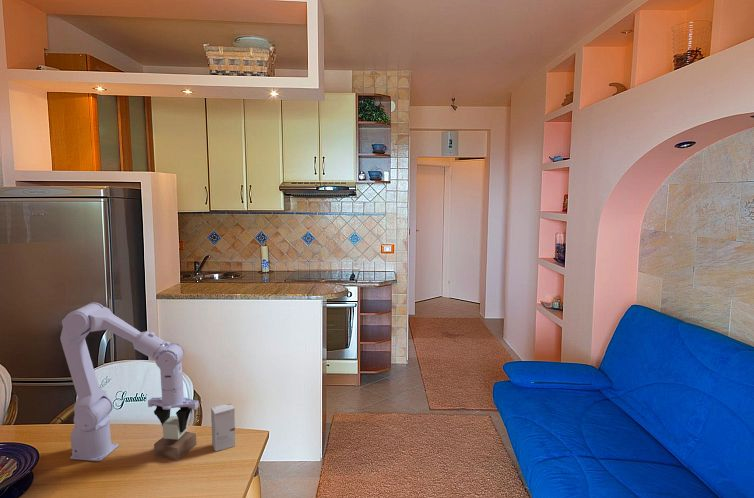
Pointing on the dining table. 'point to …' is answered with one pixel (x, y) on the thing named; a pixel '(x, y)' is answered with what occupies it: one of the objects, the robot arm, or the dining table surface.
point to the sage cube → (172, 428)
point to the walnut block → (175, 446)
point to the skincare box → (223, 426)
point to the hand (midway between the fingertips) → (174, 429)
